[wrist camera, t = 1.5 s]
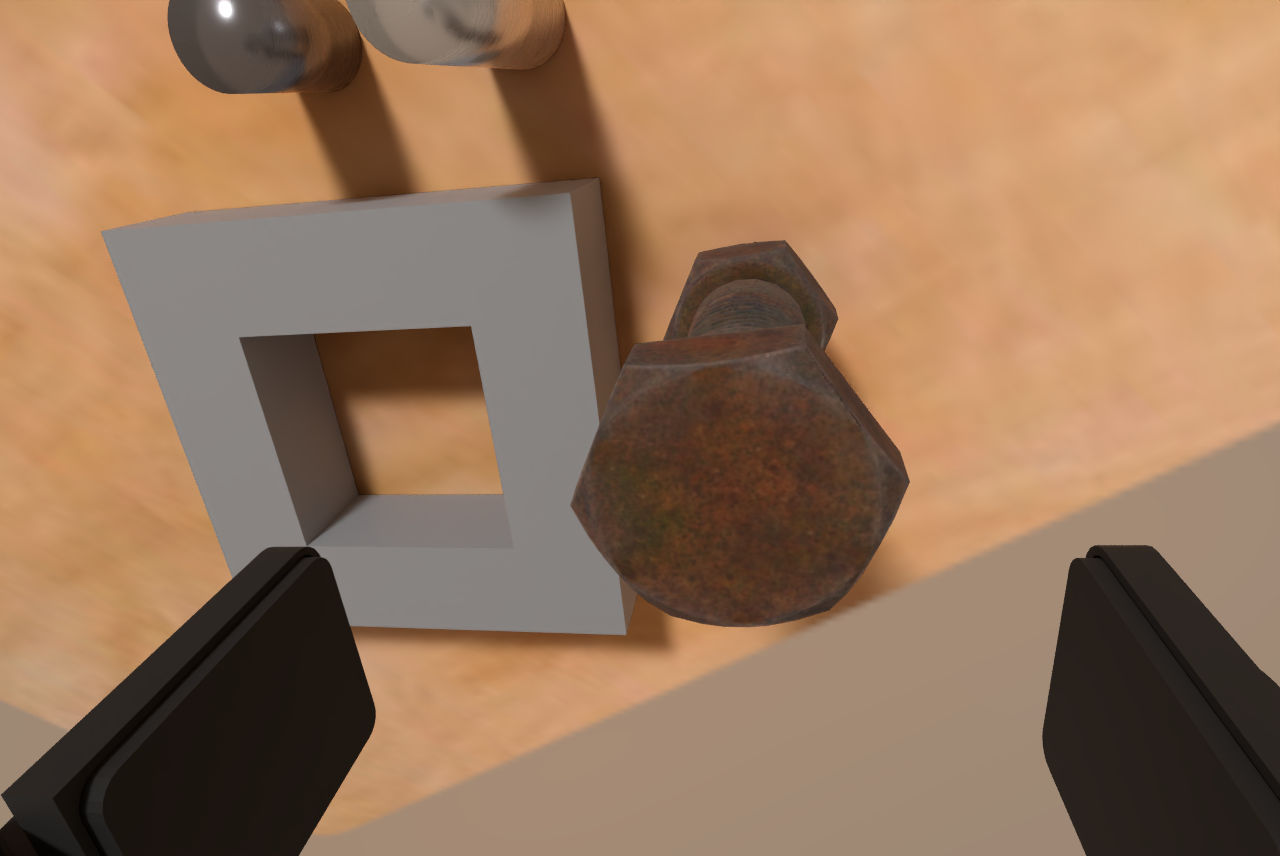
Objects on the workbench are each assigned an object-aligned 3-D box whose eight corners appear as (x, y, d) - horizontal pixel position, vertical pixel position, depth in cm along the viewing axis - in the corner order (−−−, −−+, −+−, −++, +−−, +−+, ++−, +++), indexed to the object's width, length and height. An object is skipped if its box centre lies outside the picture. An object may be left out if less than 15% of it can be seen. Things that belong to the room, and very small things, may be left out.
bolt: (681, 363, 27) (591, 633, 14) (659, 225, 25) (530, 383, 12) (844, 345, 26) (918, 623, 13) (834, 198, 24) (909, 342, 11)
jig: (599, 177, 25) (570, 193, 22) (643, 572, 32) (626, 635, 28) (186, 212, 28) (100, 231, 24) (304, 566, 35) (249, 622, 31)
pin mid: (558, -46, 23) (458, -106, 15) (571, 64, 24) (483, 55, 17) (465, -33, 23) (327, -84, 16) (482, 74, 24) (361, 70, 17)
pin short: (348, -16, 24) (250, -38, 19) (371, 87, 25) (284, 87, 21) (265, -3, 24) (151, -23, 20) (291, 96, 26) (189, 99, 21)
